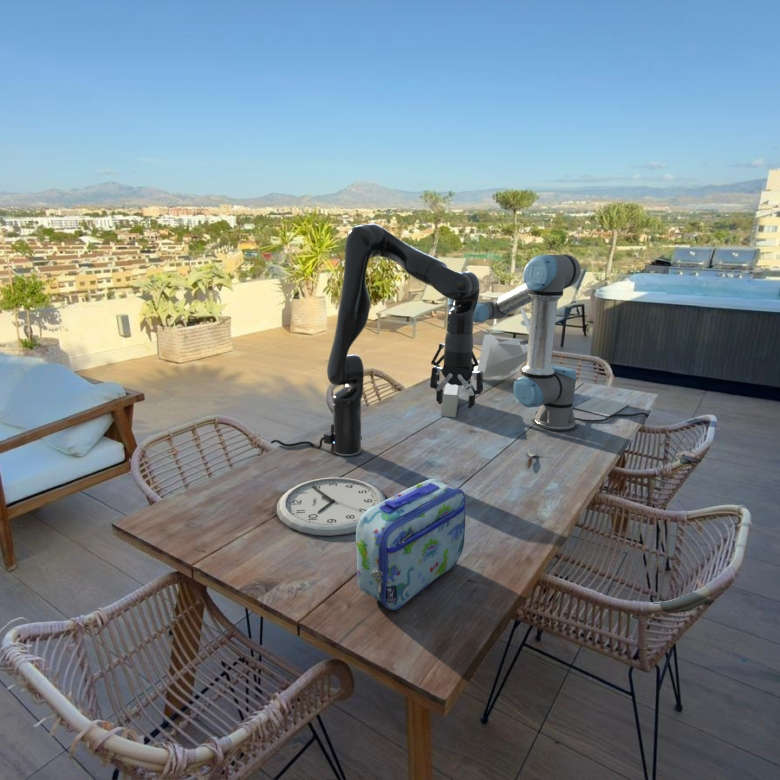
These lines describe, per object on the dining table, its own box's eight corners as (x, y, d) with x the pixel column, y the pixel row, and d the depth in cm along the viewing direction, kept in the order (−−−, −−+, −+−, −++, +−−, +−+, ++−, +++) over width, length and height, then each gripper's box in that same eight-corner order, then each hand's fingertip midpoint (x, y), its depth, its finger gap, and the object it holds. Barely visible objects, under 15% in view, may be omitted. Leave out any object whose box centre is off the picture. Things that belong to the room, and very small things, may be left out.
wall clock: (392, 527, 129) (268, 531, 127) (391, 533, 130) (269, 537, 127) (383, 473, 158) (282, 475, 155) (383, 478, 158) (282, 480, 156)
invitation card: (608, 416, 214) (573, 407, 224) (608, 416, 214) (573, 408, 224) (628, 404, 229) (594, 396, 238) (628, 405, 229) (594, 397, 238)
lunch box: (385, 624, 100) (387, 528, 94) (349, 596, 108) (348, 506, 101) (468, 566, 118) (474, 482, 112) (432, 545, 125) (436, 466, 119)
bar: (446, 397, 235) (447, 377, 233) (458, 398, 235) (459, 377, 232) (442, 416, 212) (443, 394, 209) (455, 417, 211) (457, 395, 208)
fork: (523, 469, 166) (524, 463, 165) (529, 450, 180) (529, 445, 179) (532, 470, 165) (532, 464, 164) (536, 451, 179) (537, 446, 179)
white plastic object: (490, 420, 264) (470, 397, 239) (471, 347, 286) (451, 319, 261) (562, 396, 252) (549, 369, 227) (536, 322, 274) (521, 290, 249)
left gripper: (428, 348, 139) (426, 405, 144) (481, 353, 134) (477, 413, 139) (437, 343, 146) (434, 398, 151) (487, 348, 141) (483, 404, 146)
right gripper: (425, 333, 221) (424, 381, 227) (485, 334, 217) (482, 384, 223) (427, 330, 228) (426, 377, 234) (485, 331, 224) (482, 379, 230)
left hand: (455, 405), depth 145 cm, fingers open, 8 cm apart
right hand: (454, 380), depth 228 cm, fingers open, 13 cm apart
